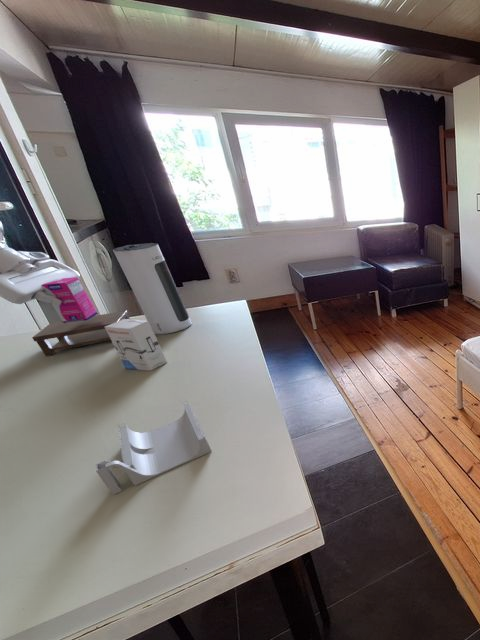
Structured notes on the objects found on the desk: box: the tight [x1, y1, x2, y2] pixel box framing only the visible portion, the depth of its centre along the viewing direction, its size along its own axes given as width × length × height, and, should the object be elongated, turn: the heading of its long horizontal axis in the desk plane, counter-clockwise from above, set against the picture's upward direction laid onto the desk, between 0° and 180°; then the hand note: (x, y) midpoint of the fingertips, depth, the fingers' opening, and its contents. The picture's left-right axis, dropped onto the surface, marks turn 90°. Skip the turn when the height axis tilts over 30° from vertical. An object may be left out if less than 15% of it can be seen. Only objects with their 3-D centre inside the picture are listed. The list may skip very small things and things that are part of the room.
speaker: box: [112, 242, 193, 335], centre depth 110 cm, size 11×10×26 cm
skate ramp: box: [95, 401, 212, 496], centre depth 63 cm, size 15×13×5 cm
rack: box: [31, 310, 131, 357], centre depth 108 cm, size 18×12×6 cm, turn 119°
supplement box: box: [41, 277, 99, 323], centre depth 104 cm, size 6×6×12 cm
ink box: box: [105, 318, 168, 372], centre depth 91 cm, size 9×5×12 cm, turn 76°
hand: (72, 299), depth 104 cm, fingers closed on supplement box, 6 cm apart
